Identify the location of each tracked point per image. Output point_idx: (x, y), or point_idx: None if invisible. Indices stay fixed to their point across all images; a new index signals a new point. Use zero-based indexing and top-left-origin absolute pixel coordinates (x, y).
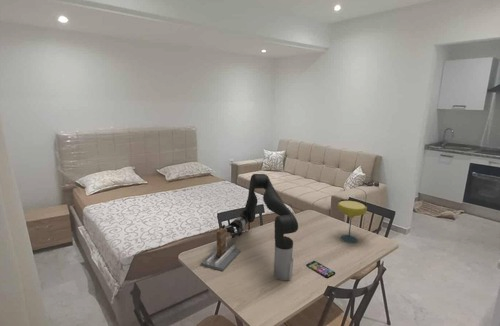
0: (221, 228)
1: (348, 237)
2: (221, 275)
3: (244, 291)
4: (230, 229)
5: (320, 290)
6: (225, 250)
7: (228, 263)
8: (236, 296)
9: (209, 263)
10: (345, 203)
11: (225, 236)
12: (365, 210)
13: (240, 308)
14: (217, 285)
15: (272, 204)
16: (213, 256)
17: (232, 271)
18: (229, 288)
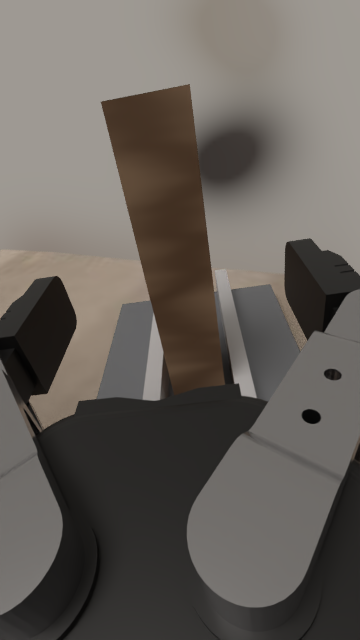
0: (176, 87)
1: None
2: (122, 300)
3: (7, 289)
4: (164, 410)
5: None
6: (171, 377)
7: (112, 349)
8: (35, 270)
9: (217, 296)
10: None
11: (133, 227)
12: None
13: (20, 256)
14: (115, 269)
15: None
16: (220, 304)
17: (76, 336)
18: (66, 277)
